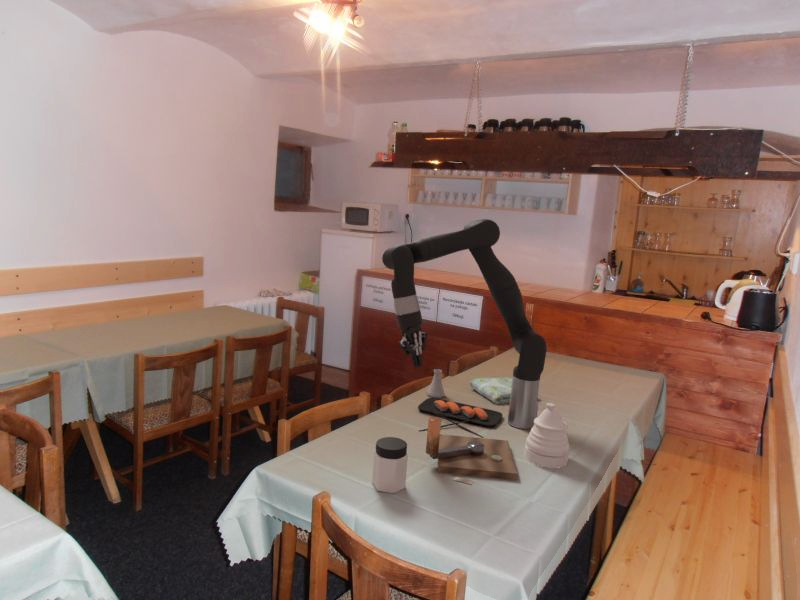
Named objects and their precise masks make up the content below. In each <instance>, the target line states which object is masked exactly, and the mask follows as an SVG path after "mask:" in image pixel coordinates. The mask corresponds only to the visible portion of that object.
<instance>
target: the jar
mask: <svg viewBox="0 0 800 600" xmlns="http://www.w3.org/2000/svg"><path fill="white" fill-rule="evenodd" d="M407 452H408V443H407V442H406V441H405V440H404V439H402V438H400V437H395V436H385V437H381V438H379V439H378V440H377V441H376V443H375V449H374V451H373V463H372V464H373V465H372V466H373V467H372V480H371V482H372V484H373V486H374V487H375V489H376V491H377V492H381V491H382V492H383V493H387V492H388V493H387V494H395V493H398V492H400V491H401V490H404V489H405V488H406V484H407V481H406V480H407V471H408V459H409V454H407Z"/></svg>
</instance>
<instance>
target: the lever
mask: <svg viewBox="0 0 800 600" xmlns="http://www.w3.org/2000/svg"><path fill="white" fill-rule="evenodd" d="M441 426H442V418H440V417H436V416H431V417H428V422H427V429H428V430H427V431H426V432H427V433H426V446H425V453H426V455H429V457H430V458H431V459H432V460H436V459H437V460H438V458H444V457H451V456H457V455H463V454H469V453H470V454H473V455H481V454H483V453H484V444H482V443H480V442H476V441H472V442H469V443H468V445H465V446H458V447H451V448H445V449H439V440H440V434H441V429H442V428H441Z"/></svg>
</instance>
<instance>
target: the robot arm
mask: <svg viewBox="0 0 800 600" xmlns="http://www.w3.org/2000/svg"><path fill="white" fill-rule="evenodd" d="M500 236H501V231H500V227H499V225H498V224H497V222H495V221H494V220H492V219H487V218H483V219H477V220H472V221H469V222H467V223H466V224H465V225H464V227H463V229H459V230H458V231H457V230H456V231H453V232H452V231H451V232H447V233H446V232H445V233H442V234H436V235H432V236H428V237H424V238H420V239H417V240H415V241H412V242H409V243H404V244H398V245H397V244H396V245H394V246H391V247H388V248H387V249H385V251H384V252H383V254H382V256H381V259H382V260H381V261H382V264H383V265H384V266H385V267H386V268H387V269H389V270H393V279H391V282H390V285H391V292H392V297H393V307H394V312H395V317H396V323H397V327H398V328H399V329H401V337H402V339H401V340H399V341H398V343H397V344H398V346H399V347H400V348H401V349H402V351H403V352H404V354H406V355H407V356H411V358H412V363H413V367H414V368H417V369H418V368H422V367H423V364H424V363H423V358H422V353H423V351H425V348H426V344H427V340H428V339H427V338H428V332H423V330H422V325H423V323H424V321H423V317H422V311H421V306H420V301H419V298H418V295H417V290H416V286H415V285H416V284H415V281H414V279H415V278H414V277H415V264H419V263H425V262H429V261H433V260H435V259H438V258H442V257H446V256H447V255H452V254H455V253H458V252H461V251H465V250H468V251H469V252H470V254H471V255H472V258H473V259H474V260H475V262H476V264H477V266H478V269H479V270H480V273H481V275H482V277H483V279H484V280H485V283H486V285H487V287H488V290H489V292H490V295H491V297H492V299H493V301H494V303H495V306H496V308H497V309H498V311H499V313H500V315H501V316H502V319H503V320H504V322H505V325H506V326H507V329H508V333H509V336H510V339H511V342H512V345H513V347H514V349H515V351H516V352H517V353H518V354H519V356H518V357H519V358H518V363H517V365H516V366H514V367H513V370H512V371H513V372H512V377H511V378H512V387H511V396H510V403H509V406H508V415H507V424H509V425H510V426H512V427H513V428H515V429H516V428H517V429H522V430H529V429H530V430H531V429H532V427H533V426H534V419H535V418H537V417H538V411H539V403H540V402H539V400H538V398H539V390H540V389H539V388H540V380H541V375H542V373H543V371H544V368H545V361H546V355H547V350H548V349H547V341H546V339H545V338H544V337H543V336H542V335H540V334H539V333H537V331H535V330H534V328H533V327H532V325H531V324H530V322H529V320H528V317H527V316H526V313H525V309H524V301H523V296H522V292H521V289H520V287H519V284H518V283H517V281H516V279H515V276H514V274H512V272H511V271H510V270H509V269H508V268H507V267H506V266H505V265H504V264H503V263H502V262H501V260H499V259H498V257H497V256H496V254H495V252H494V250H493V248H492V246H495V245H496V244H497V243H498V242H499V239H500Z"/></svg>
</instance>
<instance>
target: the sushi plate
mask: <svg viewBox="0 0 800 600" xmlns="http://www.w3.org/2000/svg"><path fill="white" fill-rule="evenodd" d="M417 409H418V410H419V411H422V412H425V413H429V414H430V413H431V414H434V415H437V416H439V417H441V419H442V418H443V419H445V420H446V421H448V422H450V423H449V424H444V425H441V429H442V428H445V427H449V426H454V425H455V426H458V427H460V428H461V429H462V430H464V431H466V432H468V433H471V434H473V435H475V436H477V437H479V438H485V437H484V436H482V435H480V434H479V433H477V432H475V431H473V430H470V429H469V428H467V427H464V426H462V425H460V424H463V423H467V422H469V423H473V424H477V425H482V426H486V427H487V426H488V427H493V426H496V425H497V424H498V423H499V422H500V421H501V419H502V418H503V413H502V412H500V411H497V410H493V409H488V408H484V407H481V406H480V407H479V406H474V405H470V404H466V403H463V402H462V403H461V402H457V401H453V400H447V399H444V398H443V399H442V398H436V397H428V398H426V399H424V400H423V401H422V402H421V403H420V404H419V405H418V406H417ZM447 417H448V418H447ZM449 418H452V419H456V420H460V421H457V422H455V421H453V420H451V419H449ZM425 430H427V431H428V428H425V429H424V428H423V429H420V430H419V429H418V431H419V432H425Z"/></svg>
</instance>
